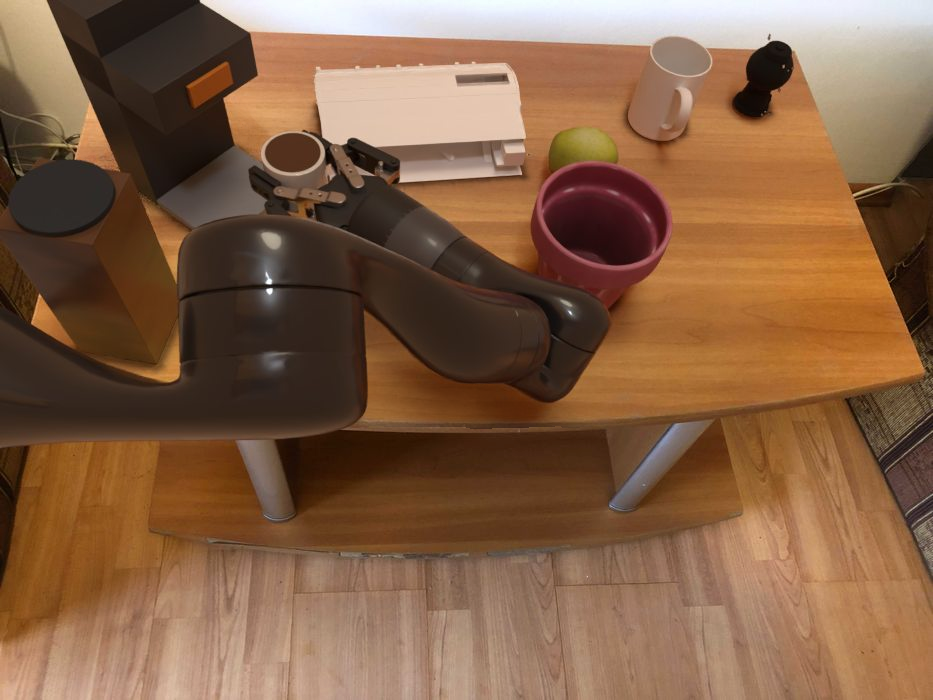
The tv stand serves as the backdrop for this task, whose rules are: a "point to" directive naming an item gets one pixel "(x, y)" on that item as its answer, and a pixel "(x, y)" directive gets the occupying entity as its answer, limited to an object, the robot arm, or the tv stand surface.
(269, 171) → the white cup
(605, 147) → the apple
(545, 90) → the tv stand surface
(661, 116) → the mug
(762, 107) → the gumball machine
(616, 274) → the flower pot
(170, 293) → the brown box
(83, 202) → the coaster
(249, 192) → the coffee machine
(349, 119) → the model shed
